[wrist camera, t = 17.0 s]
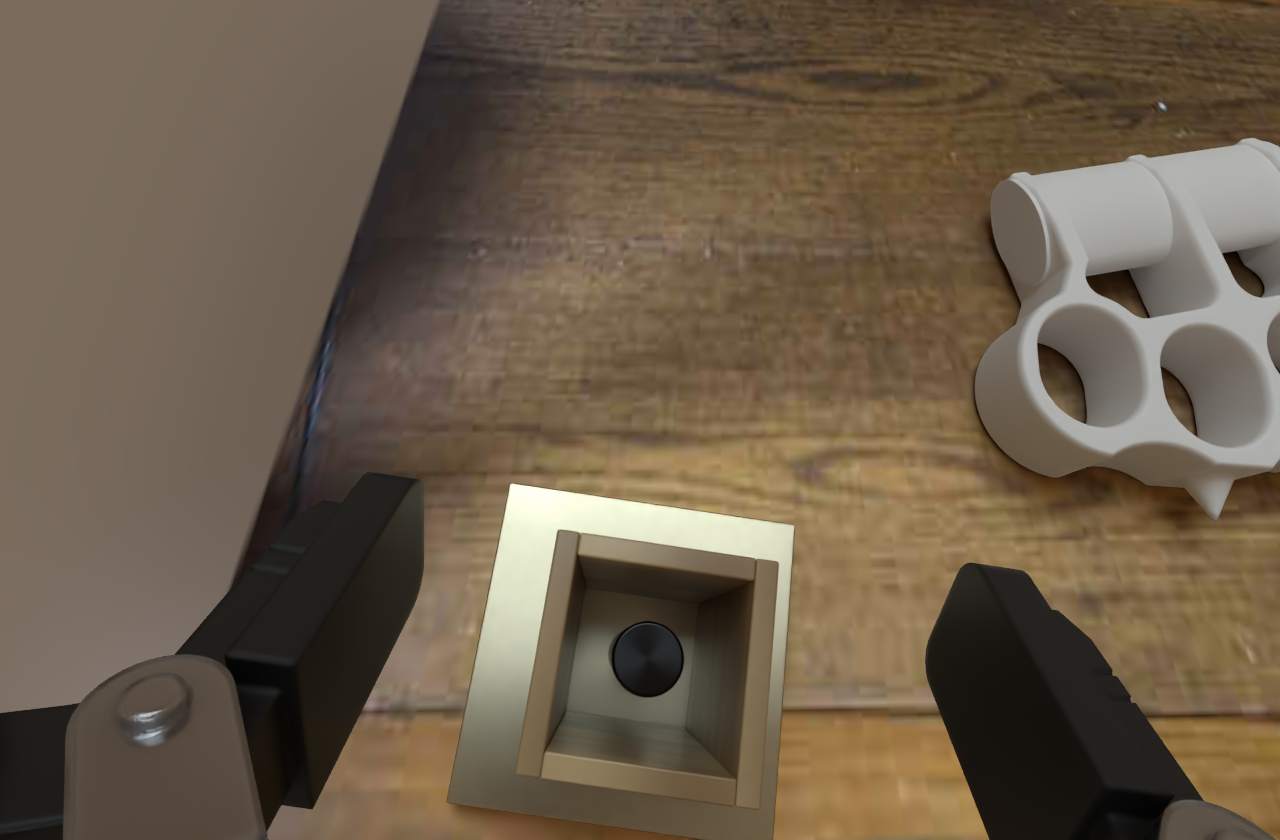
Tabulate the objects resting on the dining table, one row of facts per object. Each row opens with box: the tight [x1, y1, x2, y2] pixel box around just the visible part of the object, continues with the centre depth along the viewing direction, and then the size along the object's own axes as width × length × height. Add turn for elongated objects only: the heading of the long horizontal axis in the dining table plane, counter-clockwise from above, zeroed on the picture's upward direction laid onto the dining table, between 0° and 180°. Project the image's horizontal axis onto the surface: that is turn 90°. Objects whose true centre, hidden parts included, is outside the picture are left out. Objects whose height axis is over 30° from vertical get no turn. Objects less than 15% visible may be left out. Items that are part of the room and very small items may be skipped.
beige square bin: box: [447, 483, 795, 840], centre depth 20 cm, size 10×10×9 cm
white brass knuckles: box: [975, 138, 1280, 523], centre depth 27 cm, size 3×18×15 cm
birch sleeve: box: [515, 529, 779, 810], centre depth 19 cm, size 5×5×9 cm
